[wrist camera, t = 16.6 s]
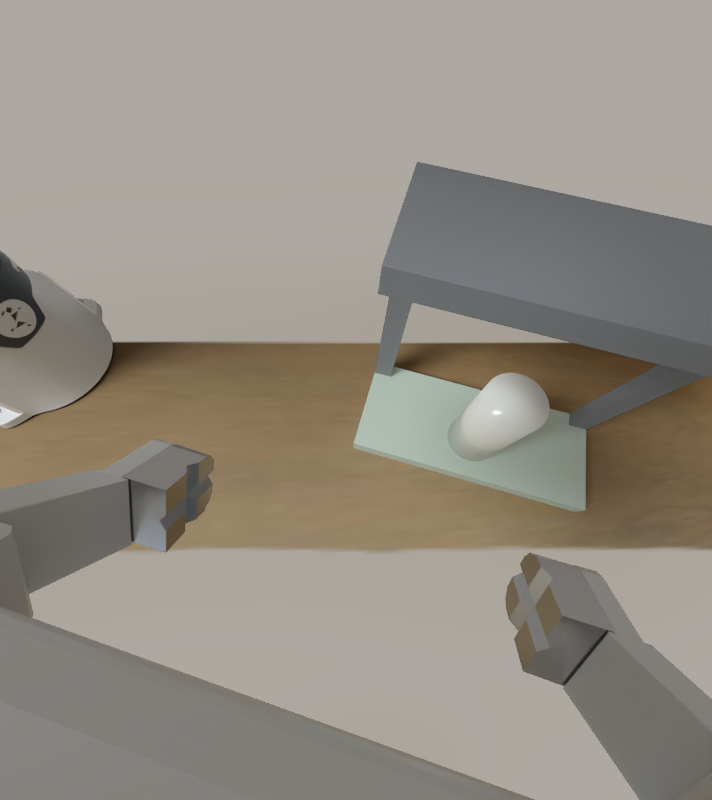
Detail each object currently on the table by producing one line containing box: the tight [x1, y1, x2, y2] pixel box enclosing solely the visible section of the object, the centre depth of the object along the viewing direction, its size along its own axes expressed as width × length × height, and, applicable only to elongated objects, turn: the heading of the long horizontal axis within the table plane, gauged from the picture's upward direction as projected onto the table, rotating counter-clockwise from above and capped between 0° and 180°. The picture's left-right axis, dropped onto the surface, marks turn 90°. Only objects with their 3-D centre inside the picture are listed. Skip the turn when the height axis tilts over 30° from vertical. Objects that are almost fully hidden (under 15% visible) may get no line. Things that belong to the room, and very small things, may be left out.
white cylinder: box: [448, 373, 550, 462], centre depth 33 cm, size 6×6×11 cm
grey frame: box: [353, 162, 712, 512], centre depth 28 cm, size 26×11×26 cm, turn 74°
